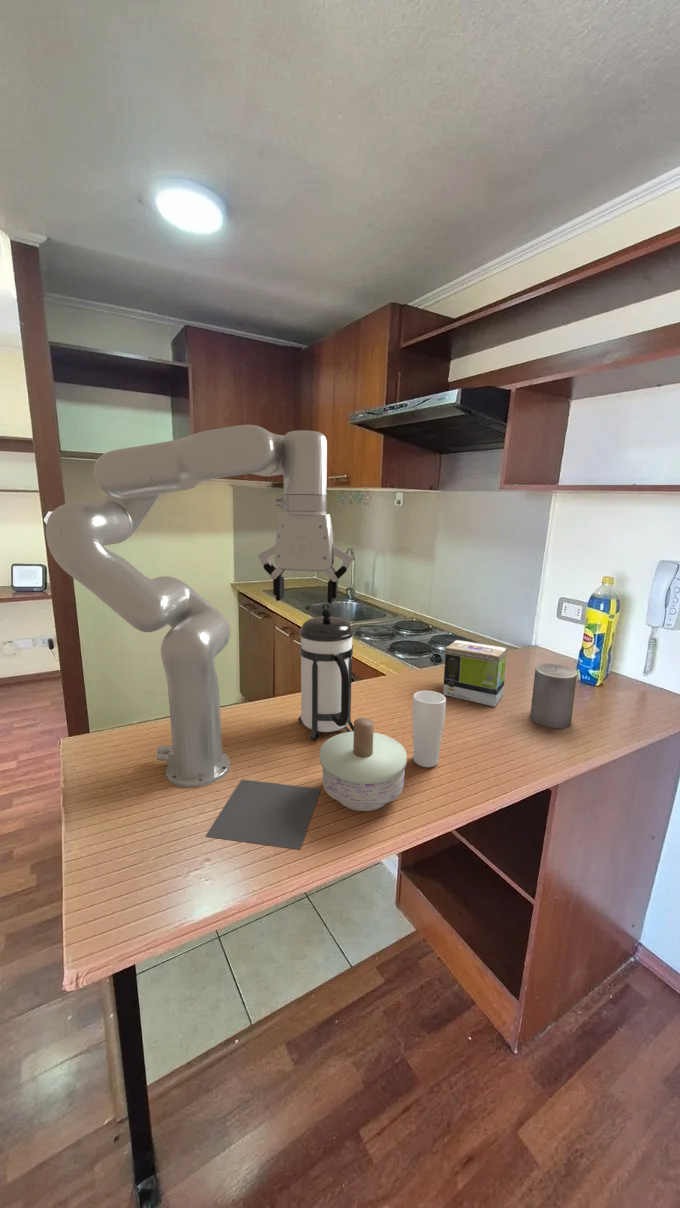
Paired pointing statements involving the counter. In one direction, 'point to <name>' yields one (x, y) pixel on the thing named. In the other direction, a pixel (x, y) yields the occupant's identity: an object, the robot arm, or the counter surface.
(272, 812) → the mat
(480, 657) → the tea box
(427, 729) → the drinking glass
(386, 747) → the lid
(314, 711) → the coffee press
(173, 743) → the robot arm
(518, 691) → the counter surface
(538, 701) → the pillar candle
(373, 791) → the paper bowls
